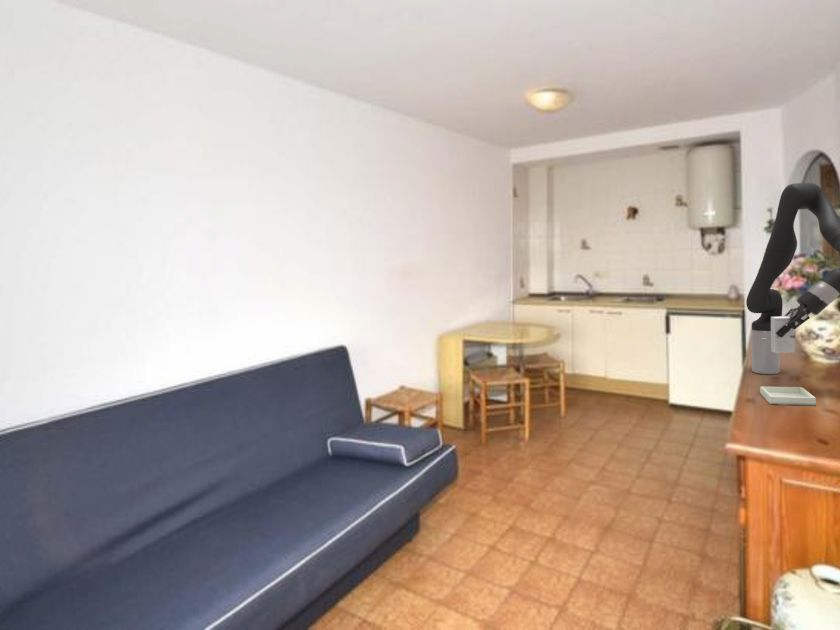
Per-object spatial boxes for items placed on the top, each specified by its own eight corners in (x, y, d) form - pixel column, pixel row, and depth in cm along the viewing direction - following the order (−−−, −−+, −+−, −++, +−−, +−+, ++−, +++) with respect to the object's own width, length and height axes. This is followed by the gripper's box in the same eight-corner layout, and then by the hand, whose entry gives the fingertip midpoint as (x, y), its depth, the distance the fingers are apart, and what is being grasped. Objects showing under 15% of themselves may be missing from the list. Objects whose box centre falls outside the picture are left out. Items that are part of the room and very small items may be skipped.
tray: (760, 393, 179) (760, 386, 179) (801, 394, 175) (801, 387, 175) (770, 404, 166) (770, 396, 166) (815, 405, 162) (815, 398, 162)
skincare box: (775, 353, 176) (774, 318, 175) (770, 351, 181) (769, 316, 180) (796, 352, 175) (795, 317, 174) (791, 350, 179) (790, 315, 178)
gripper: (801, 288, 180) (761, 324, 185) (815, 291, 167) (772, 329, 172) (820, 303, 178) (779, 338, 184) (836, 306, 165) (791, 345, 170)
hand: (776, 334), depth 178 cm, fingers closed on skincare box, 4 cm apart
